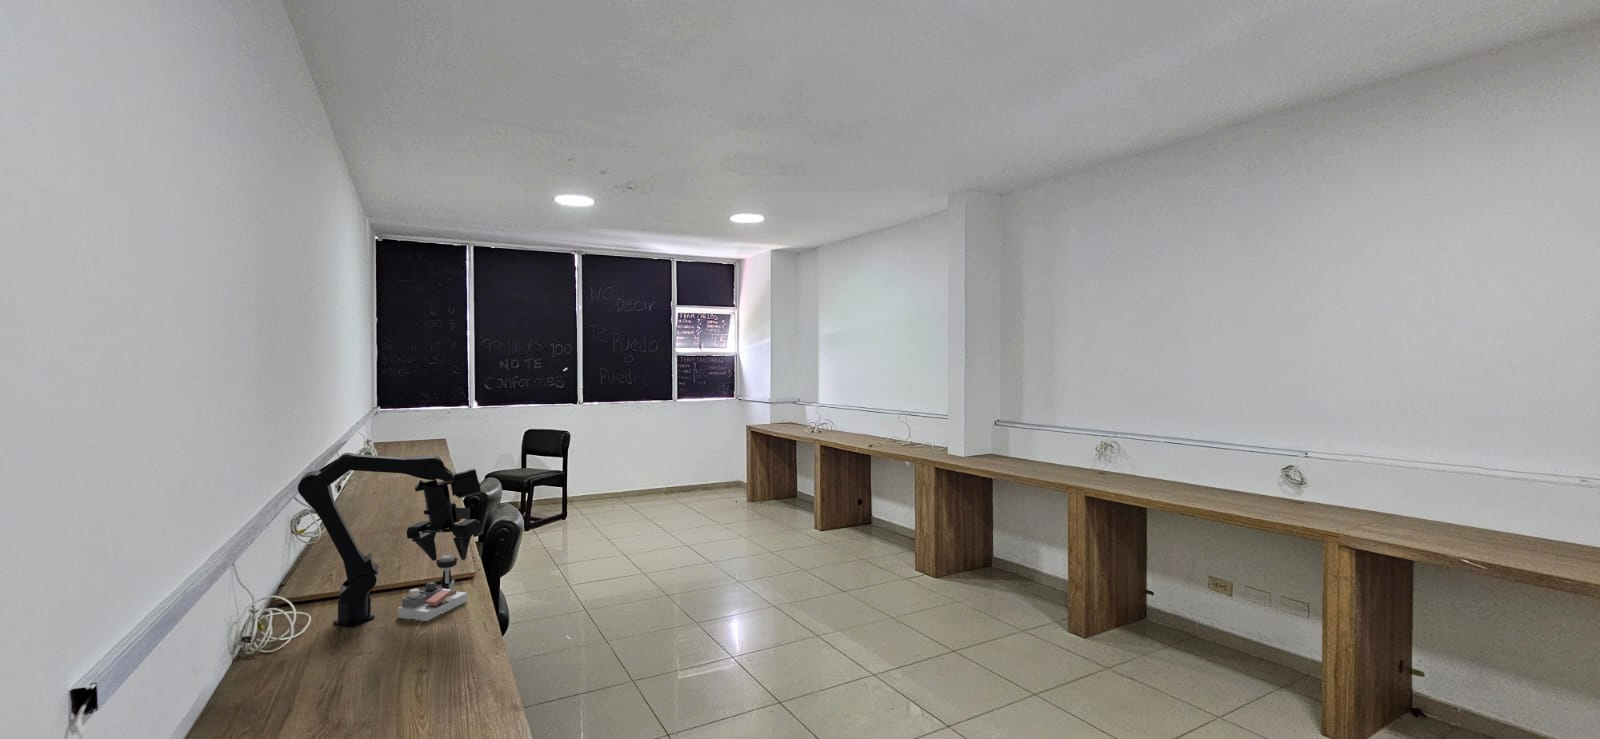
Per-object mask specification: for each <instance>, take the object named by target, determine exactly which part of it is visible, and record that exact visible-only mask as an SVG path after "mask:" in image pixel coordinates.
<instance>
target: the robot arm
mask: <svg viewBox="0 0 1600 739" xmlns="http://www.w3.org/2000/svg"><path fill="white" fill-rule="evenodd" d="M350 471H358V472H373V473H375V472H376V473H389V474H404V475H406V476H407V475H408V476H411V477H413V478H417V479H419V481H418V482H417V484H416V485H415V486H414V491H415V492H420V491H423V495H424V500H425V506H426V509H425V510H423V515H427V516H428V520H427V521H425V520H424V521H419V522H416V523H414V524H412V525H410V526H408V527H407V529H406V538H407V539H409V540H410V539H411V541H412V542H414V543H415V544H416V545H417V546H419V547H420V548H421V550H422V551H424V553H425V554H426V555H427V556H428V558H430V560H431V561H432V562H434V561H435V562H436V560H438V558H437V556H438V555H437V547H436V543H435V542H436V541H435V538H436V535H437V533H452V535H453V536H454V538H452V540H453V542H454V545H455V547H456V550H457V552H458V554H459V557H460V559H461V561H465V560H466V559H467V554H468V550H469V546H470V541H471V539H472V537H473V535H475V534H476V533H477V532H478V531H480V530H481V529H482V527H481V526H482V525H481V521H479V520H478V519H475V518H474V519H470V514H471V507H457V504H456V503H455V502H452V501H451V495H450V491H451V494H452V496H453V497H454V496H455V497H457V498H458V499H462V498H466V497H469V496H471V497H472V496H474V495H475V496H476V495H480V494H481V493H482V489H481V484H480V481H479V479H478V474H477V469H475V468H470V469H468V470H465V471H460V472H456V473H453V471H452V470H451V469H448V467H446V466H445V463H444V461H443V460H442V458H441V457H440V456H439V455H436V454H423V455H422V454H421V455H415V456H414V455H413V456H409V457H407V456H406V457H405V456H404V457H403V456H402V457H401V456H388V455H387V456H386V455H372V454H360V453H359V454H357V453H353V452H345V453H342V454H340V456H339V457H338V458H336V459H334V460H333V461H331V462H329V463H328V464H326V465H324V466H323V467H322V468H320V469H318V470H312V471H308V472H307V473H305V474H304V475H303V476H302V478H301V479H300V481H299V483H298V484H297V491H298V494H299V495H300V496H301V498H302V499H303V500H304V501H305V502H306V503H307V505H309V506H310V508H312V509H313V510H314V511H315V512H316V513H317V515H318V516H319V519H320V520H321V522H322V524H323V526H324V528H325V529H326V531H327V533H328V535H329V537H330V539H331V541H332V543H333V544H334V547H335V549H336V550H337V552H338V554H339V555H340V557H341V559H342V562H343V565H344V570H345V575H346V580H345V581H344V582H343V583H342V584H341V585H340V587H339V588H340V590H339V594H338V598H339V599H337V619H336V620H334V621H332V624H333V625H339V626H344V627H351V628H354V627H356V626H358V625H360V624H361V625H362V624H363V623H365V622H367V621H369V620H373V619H375V614H371V613H372V612H371V611H372V606H371V604H372V600H371V599H372V598H371V593H370V591H371V590H372V589H373V588H374V587H375V586H376V584H377V581H378V580H377V579H378V574H379V565H378V564H377V563H376V562H375V560H374V556H373V554H372V553H371V552H370V553H368V554H367V555H365V554H364V553H363V552H362V551H361V550H360V548H359V547H358V544H357V542H356V541H355V539H354V537H353V534H352V533H351V532H350V529H349V527H348V525H347V524H346V522H345V520H344V518H343V516H342V514H341V512H340V511H339V508H338V506H337V504H336V503H335V499H334V494H333V490H332V489H333V488H332V486H331V485H332V484H333V483H335V482H336V481H337V480H339V479H340V478H342V477H343V476H344V475H345V474H347V473H348V472H350ZM424 480H426V481H424ZM438 480H440V481H438ZM449 485H450V489H451V490H450V489H449ZM449 490H450V491H449ZM461 520H462V521H461ZM456 523H457V524H456Z"/></svg>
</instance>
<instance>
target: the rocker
mask: <svg viewBox="0 0 1600 739" xmlns="http://www.w3.org/2000/svg"><path fill="white" fill-rule="evenodd" d="M452 593H453V591H452V589H445V588H443V589H442V590H440V591H439V592H438V593H436V594H435V595H433V596H432V597H431V598H429V599H428V600H427V601H426V604H427V605H434V606H436V605H437V604H439V603H440V602H441V601H443V600H444V599H445V598H447V597H448V596H449V595H451V594H452Z"/></svg>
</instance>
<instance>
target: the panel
mask: <svg viewBox="0 0 1600 739" xmlns="http://www.w3.org/2000/svg"><path fill="white" fill-rule="evenodd" d="M454 583H455V579H453V580H452V581H451V584H450V588H449V589H452V587H453V588H454ZM440 590H442V588H441V587H439V586H438V587H437V586H436V591H433V592H426V588H424V589H422V590H420V598H418V599H415V600H412V599H409V595H408V596H405V597H403V598H402V599H401V600H402V601H401V604H402V605H401V606H399V607H397V618H399V619H404V618H405V619H406V620H410V619H416V620H415V621H417V620H424V621H427V620H430V619H432V618H434V617H436V616H438V615H440V614H442V615H443V613H444V614H446V613H447V611H448V612H449V610H450V611H452V610H453V608H454V609H456V608H458V607H460V606H462V605H464V604H467V603H468V592H464V591H457V589H453V590H452V591H453V593H452V594H451V595H449V596H448V597H447V598H445V599H444V600H443V601H441V602H440V603H439V604H437V605H436V606H434V605H427V604H426V601H427V600H428V599H429V598H431V597H432V596H433V595H435V594H436V593H438V592H439V591H440ZM463 603H464V604H463ZM461 604H462V605H461ZM459 605H460V606H459ZM457 606H458V607H457ZM455 607H456V608H455ZM451 609H452V610H451ZM445 612H446V613H445ZM440 616H441V615H440ZM438 617H439V616H438ZM436 618H437V617H436ZM405 619H404V620H405ZM434 619H435V618H434ZM432 620H433V619H432ZM430 621H431V620H430Z"/></svg>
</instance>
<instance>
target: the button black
mask: <svg viewBox="0 0 1600 739" xmlns="http://www.w3.org/2000/svg"><path fill="white" fill-rule="evenodd" d="M436 587H437V582H436V581H429V582H426V583H425V589H426V592H433V591H436Z"/></svg>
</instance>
